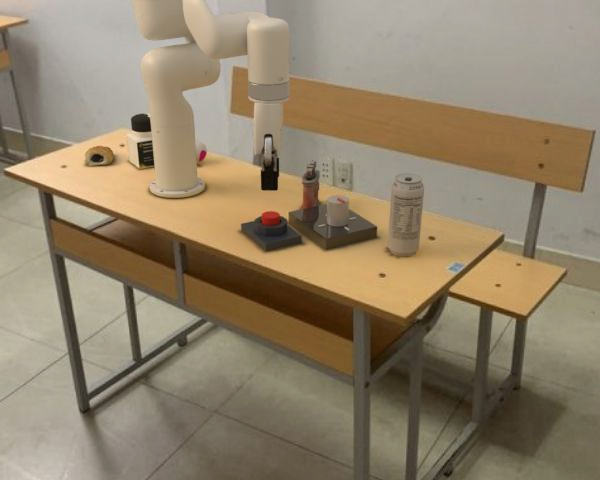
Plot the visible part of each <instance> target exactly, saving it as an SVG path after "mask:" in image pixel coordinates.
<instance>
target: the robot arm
mask: <svg viewBox="0 0 600 480" xmlns="http://www.w3.org/2000/svg"><path fill="white" fill-rule="evenodd" d="M131 5H132V8H133V12H134V16H135V20H136V24H137V28H138V30H139V32H140V34H141V36H142V37H143V38H144V39H146V40H148V41H152V42H153V41H156V42H157V41H165V40H172V39H180V38H184V39H185V42H186V43H181V44H172V45H167V46H166V45H165V46H160V47H156V48H153V49H151V50H149V51H148V52H146V53H145V54H144V55H143V57H142V58H141V61H140V74H141V77H142V81H143V85H144V89H145V93H146V97H147V98H146V99H147V104H148V111H149V112H148V113H149V114H150V123H151V132H152V143H153V154H154V165H155V166H154V174H155V178H154V179H153V180H151V182H150V183H149V185H148V186H149V191H150V193H152V194H153V195H154V196H157V197H161V198H168V199H182V198H187V197H192V196H195V195H198V194H201V192H203V191H204V190H205V188H206V183H205V181H204V179H203V178H201V177H199V176H198V165H197V164H198V163H197V160H196V144H195V140H196V129H195V116H194V110H193V107H192V106H191V104H190V103H189V101H188V100H187V99H186V98H185V96H184V94H183V93H184V92H186V91H189V90H194V89H200V88H204V87H205V88H206V87H209V86H211V85H214V84H215V83H216V82H217V81H218V80H219V78H220V76H221V60H224V59H230V58H237V57H242V56H243V57H244V56H247V87H248V90H247V91H248V100H249V101H250V102H254V103H253V154H254V156H255V157H258V155H261V169H260V190H261V191H264V192H268V191H269V192H278V190H279V177H280V157H279V155H280V154H281V149H282V142H283V131H284V130H283V129H284V103H286V102H288V101H289V100H290V99H291V98H290V97H291V95H290V94H291V93H290V90H291V89H290V86H291V85H290V83H291V82H290V81H291V80H290V79H291V78H290V77H291V76H290V69H291V68H290V67H291V66H290V64H291V63H290V62H291V61H290V59H291V58H290V57H291V56H290V55H291V54H290V51H291V49H290V48H291V47H290V41H291V40H290V39H291V38H290V35H291V33H290V32H291V31H290V26H289V23H288V21H286V20H284V19H282V18H277V17H270V16H268V15H267V14H265V13H263V12H261V11H258V10H248V11H240V12H239V11H238V12H231V13H221V14H214V13H213V11H212V10H211V8H210V7H209V5H208V3H207V1H206V0H131Z"/></svg>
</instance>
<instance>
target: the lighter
mask: <svg viewBox="0 0 600 480" xmlns="http://www.w3.org/2000/svg"><path fill="white" fill-rule="evenodd" d="M305 167H306V168H305V172H304V173H303V175H302V178H301V184H302V205H301V209H305V208H310V207H315V206H319V205H320V199H319V191H320V182H319V180H320V172H321V171H320V170H319V169H316V168H317V161H316V160H311V161H310V163H309V164H308V163H307V164H306V166H305Z"/></svg>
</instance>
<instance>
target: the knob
mask: <svg viewBox="0 0 600 480" xmlns="http://www.w3.org/2000/svg"><path fill="white" fill-rule="evenodd" d="M326 204H327V219H326V222H327V224H328V225H330V226H335V227H341V226H345V225H347V224H348V216H349V209H350V198H349V197H348V196H346V195H341V194H334V195H329V196H327V198H326Z"/></svg>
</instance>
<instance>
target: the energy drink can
mask: <svg viewBox="0 0 600 480" xmlns="http://www.w3.org/2000/svg"><path fill="white" fill-rule="evenodd" d="M422 179H423V178H422V176H421V175H418V174H415V173H399V174H397V175H395V179H394V181H393V183H392V184H391V192H390V206H389V207H390V208H389V222H388V234H387V237H388V238H387V239H388V240H387V248H388V249H389V251H390V252H391V254H393V255H395V256H399V257H403V258H405V257H411V256H414V255H416V252H417V251H418V250H419V249H420V240H421V229H422V219H423V207H424V196H425V185H424V183H423V181H422Z"/></svg>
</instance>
